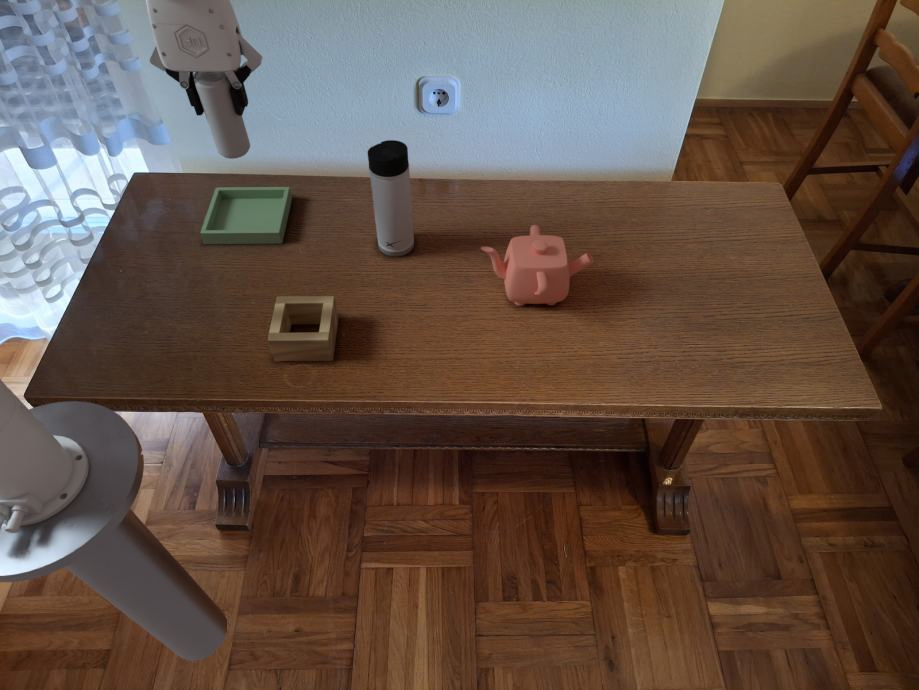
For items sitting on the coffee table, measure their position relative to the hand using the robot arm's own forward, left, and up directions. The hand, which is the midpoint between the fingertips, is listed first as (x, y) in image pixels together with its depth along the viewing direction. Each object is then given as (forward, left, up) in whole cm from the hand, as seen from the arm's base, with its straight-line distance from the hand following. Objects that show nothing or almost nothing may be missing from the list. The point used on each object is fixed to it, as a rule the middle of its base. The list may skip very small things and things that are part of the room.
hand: (221, 109), depth 92 cm
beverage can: (0, 0, -7) cm, 7 cm away
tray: (+9, +4, -27) cm, 29 cm away
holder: (-19, -10, -27) cm, 35 cm away
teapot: (-9, -46, -28) cm, 54 cm away
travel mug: (+2, -23, -28) cm, 36 cm away
